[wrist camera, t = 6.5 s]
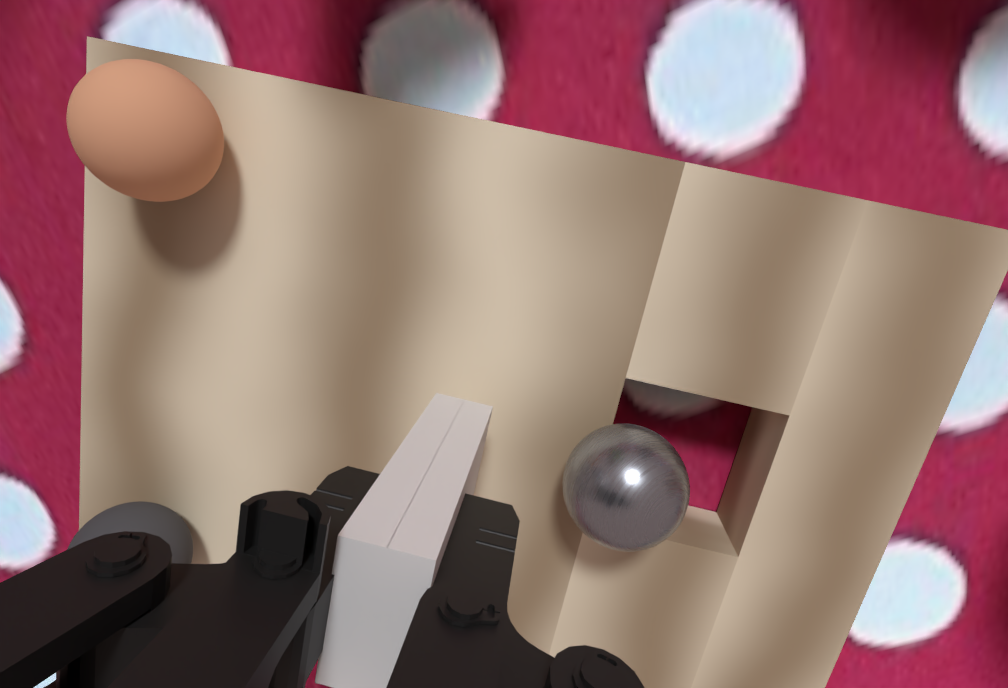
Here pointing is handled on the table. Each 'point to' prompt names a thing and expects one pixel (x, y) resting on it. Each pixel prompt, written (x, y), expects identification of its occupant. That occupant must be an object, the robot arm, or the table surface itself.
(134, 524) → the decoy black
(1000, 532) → the table surface
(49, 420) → the table surface
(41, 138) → the table surface
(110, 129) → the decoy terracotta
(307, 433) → the wooden board with hole
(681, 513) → the steel ball
